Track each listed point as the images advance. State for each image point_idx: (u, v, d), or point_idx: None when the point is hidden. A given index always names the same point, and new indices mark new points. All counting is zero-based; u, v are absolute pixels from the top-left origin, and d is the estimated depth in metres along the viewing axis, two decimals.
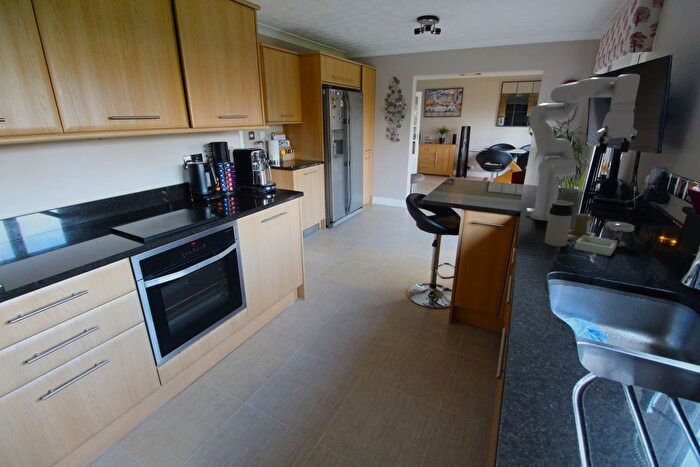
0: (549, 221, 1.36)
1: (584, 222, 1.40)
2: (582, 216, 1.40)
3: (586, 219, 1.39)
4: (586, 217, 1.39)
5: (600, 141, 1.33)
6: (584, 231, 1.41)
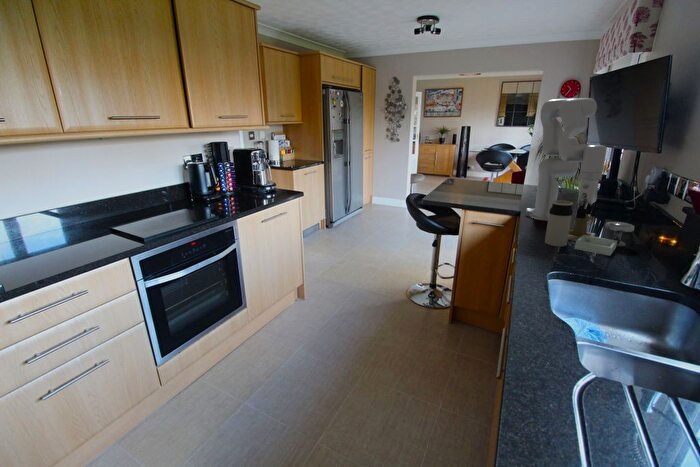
0: (549, 221, 1.36)
1: (584, 222, 1.40)
2: None
3: (586, 219, 1.39)
4: (586, 217, 1.39)
5: None
6: (584, 231, 1.41)
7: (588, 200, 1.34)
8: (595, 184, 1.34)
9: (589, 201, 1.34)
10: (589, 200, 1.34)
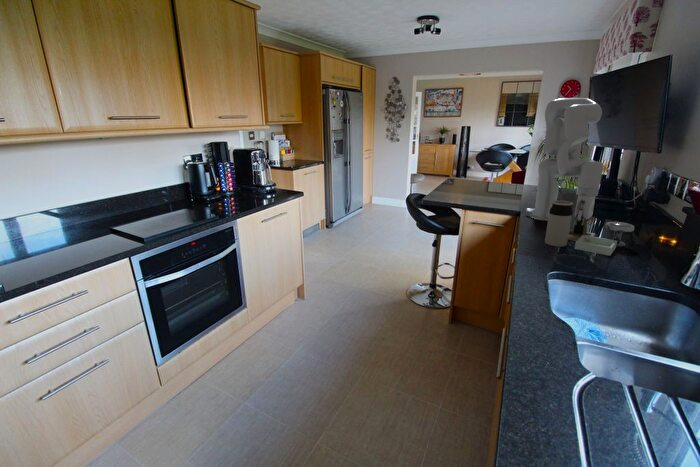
0: (549, 221, 1.36)
1: (584, 222, 1.40)
2: None
3: (586, 219, 1.39)
4: None
5: None
6: (584, 231, 1.41)
7: (584, 215, 1.37)
8: (591, 200, 1.36)
9: (585, 216, 1.37)
10: (585, 215, 1.36)
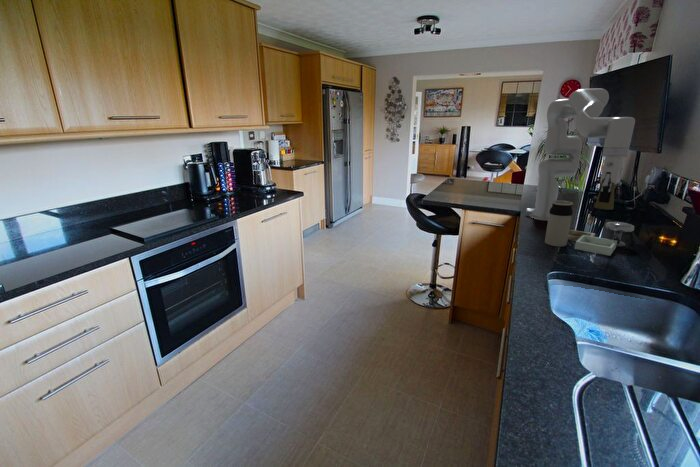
0: (549, 221, 1.36)
1: (611, 188, 1.23)
2: None
3: (614, 184, 1.22)
4: None
5: None
6: (611, 198, 1.24)
7: (612, 180, 1.20)
8: (621, 161, 1.19)
9: (613, 181, 1.19)
10: (614, 180, 1.19)
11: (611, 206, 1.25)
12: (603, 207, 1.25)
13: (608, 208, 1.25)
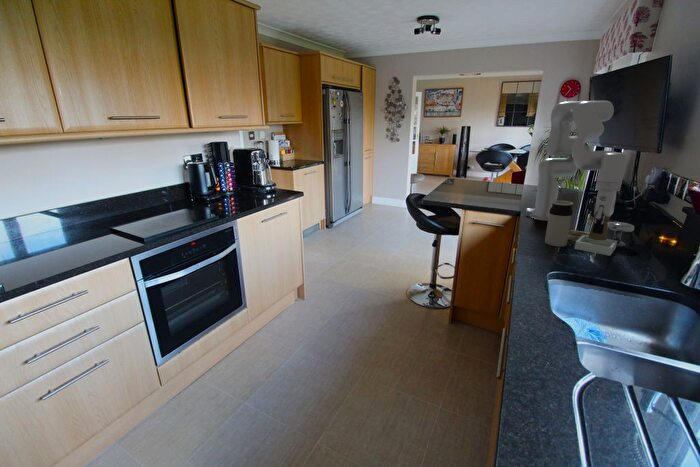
0: (549, 221, 1.36)
1: (604, 220, 1.27)
2: None
3: (607, 217, 1.26)
4: None
5: None
6: (604, 230, 1.28)
7: (605, 213, 1.23)
8: (613, 195, 1.22)
9: (606, 214, 1.23)
10: (606, 213, 1.23)
11: (604, 237, 1.28)
12: (597, 238, 1.29)
13: (601, 239, 1.28)
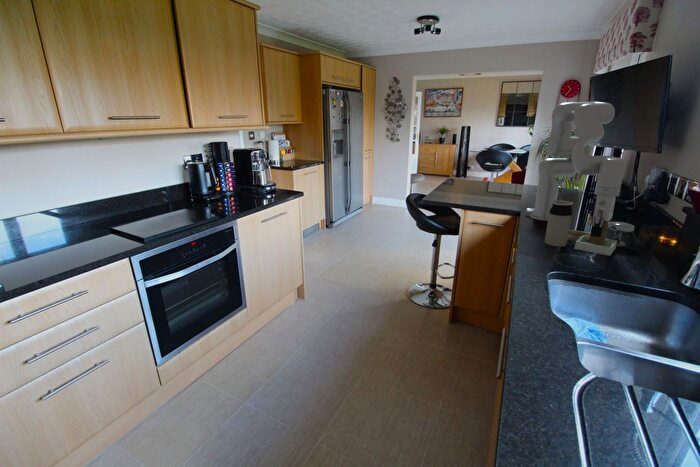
0: (549, 221, 1.36)
1: (602, 229, 1.29)
2: None
3: (605, 226, 1.28)
4: (605, 223, 1.28)
5: None
6: (602, 238, 1.29)
7: (604, 218, 1.24)
8: (612, 200, 1.23)
9: (605, 219, 1.24)
10: (605, 218, 1.24)
11: (602, 245, 1.30)
12: None
13: None
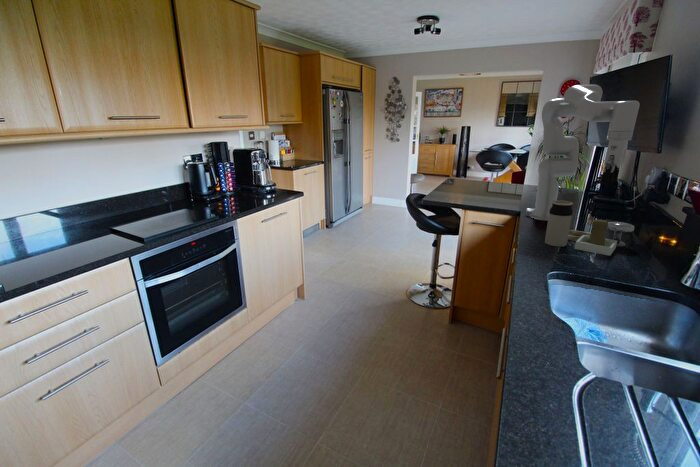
0: (549, 221, 1.36)
1: (602, 229, 1.29)
2: (600, 222, 1.28)
3: (605, 226, 1.28)
4: (605, 223, 1.28)
5: None
6: (602, 238, 1.29)
7: (616, 162, 1.23)
8: (624, 145, 1.22)
9: (617, 163, 1.23)
10: (617, 162, 1.23)
11: (602, 245, 1.30)
12: None
13: None
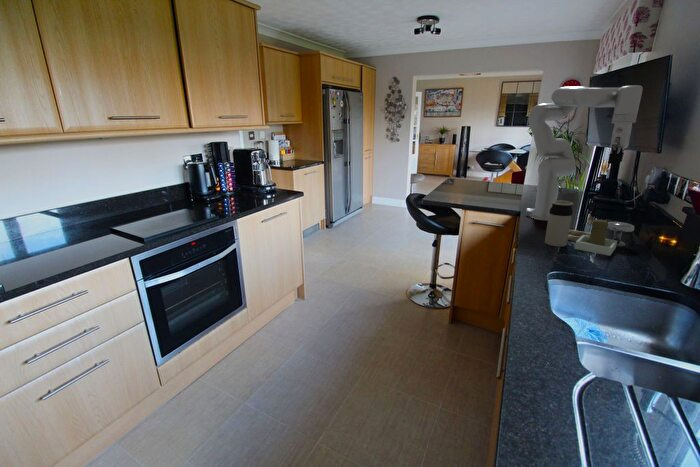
0: (549, 221, 1.36)
1: (602, 229, 1.29)
2: (600, 222, 1.28)
3: (605, 226, 1.28)
4: (605, 223, 1.28)
5: None
6: (602, 238, 1.29)
7: (621, 144, 1.30)
8: (629, 127, 1.29)
9: (622, 145, 1.30)
10: (623, 144, 1.30)
11: (602, 245, 1.30)
12: None
13: None
